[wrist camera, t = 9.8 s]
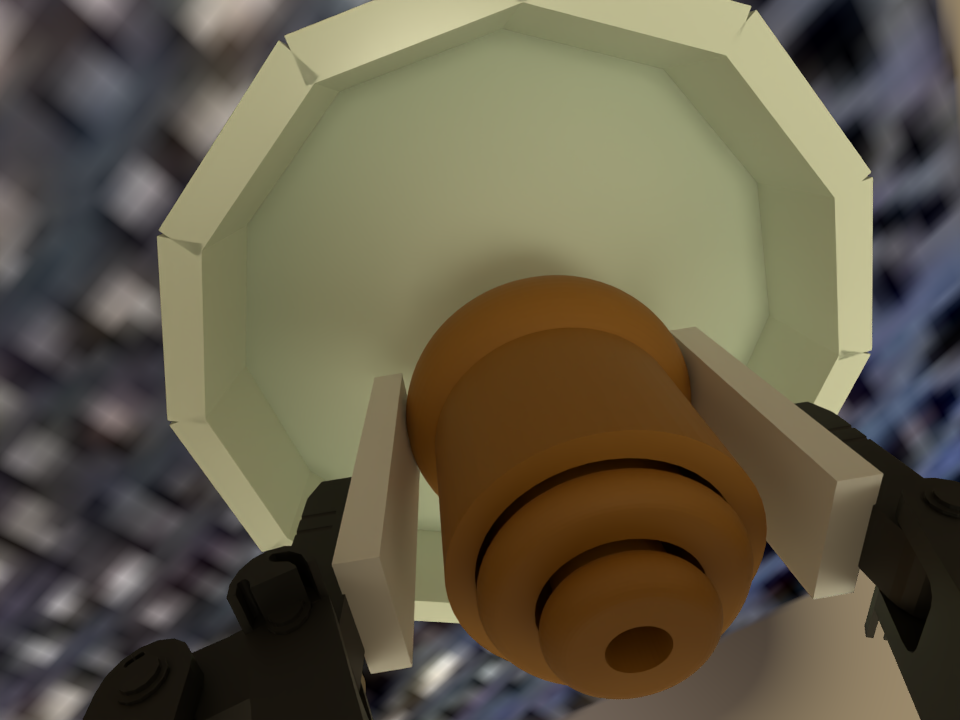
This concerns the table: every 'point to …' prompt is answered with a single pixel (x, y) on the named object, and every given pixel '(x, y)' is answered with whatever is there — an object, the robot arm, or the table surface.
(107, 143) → the table surface
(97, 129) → the table surface
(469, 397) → the ornamental finial
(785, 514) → the robot arm
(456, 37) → the bowl
